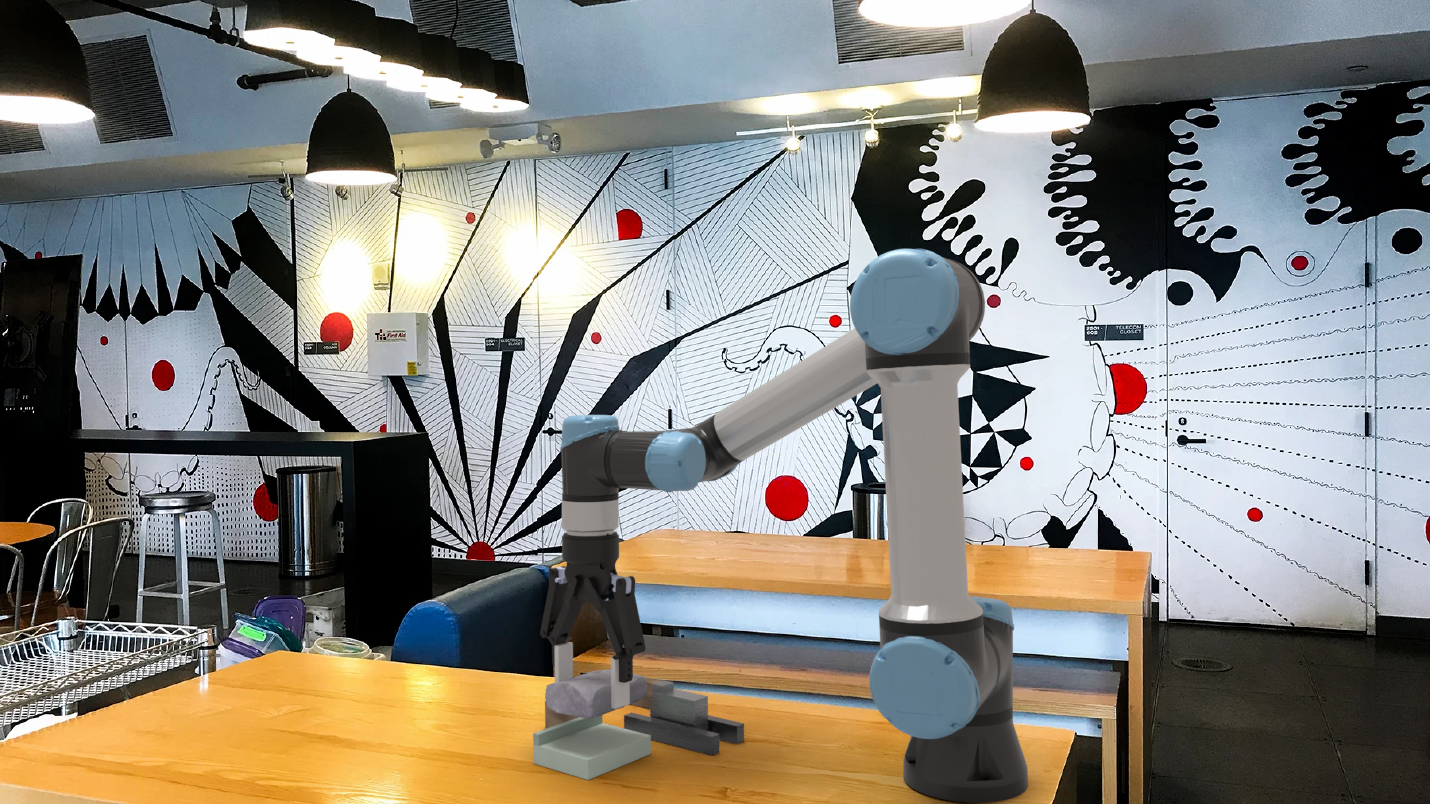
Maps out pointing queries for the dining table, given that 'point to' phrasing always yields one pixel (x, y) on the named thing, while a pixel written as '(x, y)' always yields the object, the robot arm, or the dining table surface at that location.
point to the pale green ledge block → (588, 747)
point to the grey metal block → (679, 706)
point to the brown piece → (557, 718)
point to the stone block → (589, 694)
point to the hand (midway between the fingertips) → (591, 698)
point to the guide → (687, 732)
